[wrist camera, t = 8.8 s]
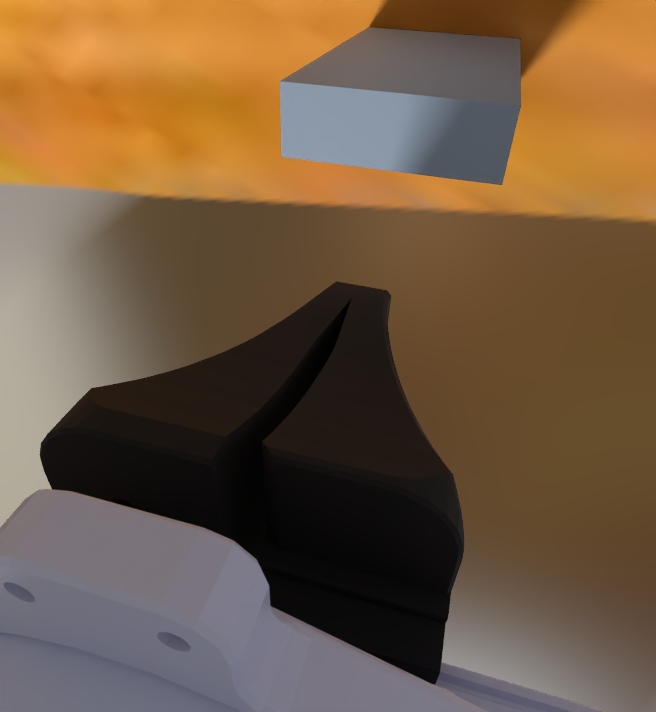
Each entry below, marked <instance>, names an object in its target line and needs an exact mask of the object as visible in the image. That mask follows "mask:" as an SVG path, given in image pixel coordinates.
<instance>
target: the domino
mask: <svg viewBox="0 0 656 712" xmlns="http://www.w3.org/2000/svg"><path fill="white" fill-rule="evenodd" d="M280 104H281V153H282V157H286V158H294V159H302V160H310V161H317V162H325V163H333V164H341V165H349V166H357V167H364V168H372V169H380V170H388V171H396V172H403V173H411V174H419V175H427V176H435V177H442V178H450V179H458V180H466V181H474V182H482V183H489V184H497V185H502V183H503V179H504V174H505V170H506V166H507V162H508V158H509V153H510V149H511V145H512V141H513V136H514V132H515V128H516V124H517V119H518V115H519V111H520V107H521V44H520V39H518V38H505V37H492V36H479V35H466V34H453V33H440V32H427V31H414V30H401V29H388V28H375V27H368V28H367V29H365V30H363V31H362V32H360V33H358V34H357V35H355V36H354V37H352V38H350V39H349V40H347V41H345V42H344V43H342V44H340V45H339V46H337V47H335V48H334V49H332V50H331V51H329V52H327V53H326V54H324V55H322V56H321V57H319V58H317V59H316V60H314V61H313V62H311V63H309V64H308V65H306V66H304V67H303V68H301V69H299V70H298V71H296V72H294V73H293V74H291V75H290V76H288V77H286V78H285V79H283V80H281V81H280Z"/></svg>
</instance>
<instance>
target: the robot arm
mask: <svg viewBox="0 0 656 712" xmlns="http://www.w3.org/2000/svg"><path fill="white" fill-rule="evenodd" d="M390 301H391V295H390V294H389V292H388V291H387V290H382V289H375V288H370V287H364V286H359V285H353V284H347V283H341V282H335V283H334V284H332V285H331V286H330V287H328V288H327V289H325V290H324V291H323V292H321V293H320V294H319V295H317V296H316V297H315V298H313V299H312V300H311V301H309V302H308V303H307V304H305V305H304V306H303V307H301V308H300V309H298V310H297V311H295V312H294V313H292V314H291V315H290V316H288V317H287V318H285V319H284V320H282V321H281V322H279V323H277V324H276V325H274V326H273V327H271V328H269V329H268V330H266V331H264V332H263V333H261V334H259V335H258V336H256V337H254V338H252V339H250V340H248V341H246V342H244V343H242V344H240V345H238V346H236V347H234V348H232V349H229V350H227V351H225V352H223V353H220V354H218V355H215V356H212V357H210V358H207V359H204V360H202V361H199V362H197V363H194V364H191V365H188V366H186V367H182V368H179V369H176V370H172V371H169V372H166V373H162V374H158V375H154V376H151V377H147V378H142V379H138V380H133V381H128V382H123V383H118V384H113V385H107V386H103V387H96V388H91V389H90V390H89V391H88V392H87V393H86V394H85V395H84V396H83V397H82V398H81V399H80V400H79V401H78V402H77V403H76V405H75V406H73V408H72V409H71V410H70V411H69V412H68V413H67V414H66V415H65V416H64V417H63V418H62V419H61V421H60V422H59V423H58V424H57V425H56V426H55V427H54V428H53V429H52V430H51V431H50V432H49V433H48V434H47V436H46V437H45V438H44V440H43V441H42V442H41V448H40V458H41V462H42V465H43V469H44V472H45V474H46V476H47V478H48V481H49V483H50V485H51V487H52V489H44V490H38V491H36V492H35V493H33V494H32V495H31V496H29V497H27V498H26V499H25V500H24V501H23V502H22V503H21V505H20V506H19V507H18V508H17V509H16V510H15V511H14V513H13V514H12V515H11V516H10V517H9V518H8V519H7V521H6V522H5V523H4V524H3V525H2V526H1V527H0V712H606V711H603V710H600V709H596V708H593V707H590V706H586V705H583V704H580V703H576V702H573V701H570V700H566V699H563V698H559V697H556V696H552V695H549V694H546V693H543V692H539V691H536V690H532V689H529V688H526V687H523V686H519V685H516V684H513V683H509V682H506V681H503V680H499V679H496V678H493V677H489V676H485V675H482V674H479V673H476V672H472V671H469V670H466V669H462V668H459V667H456V666H452V665H449V664H446V663H442V662H441V659H442V650H443V641H444V632H445V622H446V621H447V619H448V613H449V604H450V595H451V590H452V587H453V585H454V582H455V579H456V575H457V573H458V570H459V567H460V564H461V561H462V557H463V552H464V530H463V520H462V514H461V508H460V503H459V498H458V494H457V489H456V485H455V481H454V477H453V474H452V473H451V472H450V470H449V469H448V468H447V466H446V465H445V464H444V462H442V460H441V458H440V457H439V456H438V454H437V453H436V451H435V450H434V448H433V447H432V445H431V444H430V442H429V440H428V439H427V437H426V436H425V434H424V432H423V431H422V429H421V427H420V425H419V423H418V421H417V419H416V417H415V415H414V414H413V412H412V410H411V408H410V406H409V403H408V401H407V399H406V396H405V394H404V391H403V389H402V386H401V383H400V380H399V377H398V374H397V371H396V367H395V364H394V360H393V356H392V351H391V346H390V340H389V332H388V317H389V309H390Z"/></svg>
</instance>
